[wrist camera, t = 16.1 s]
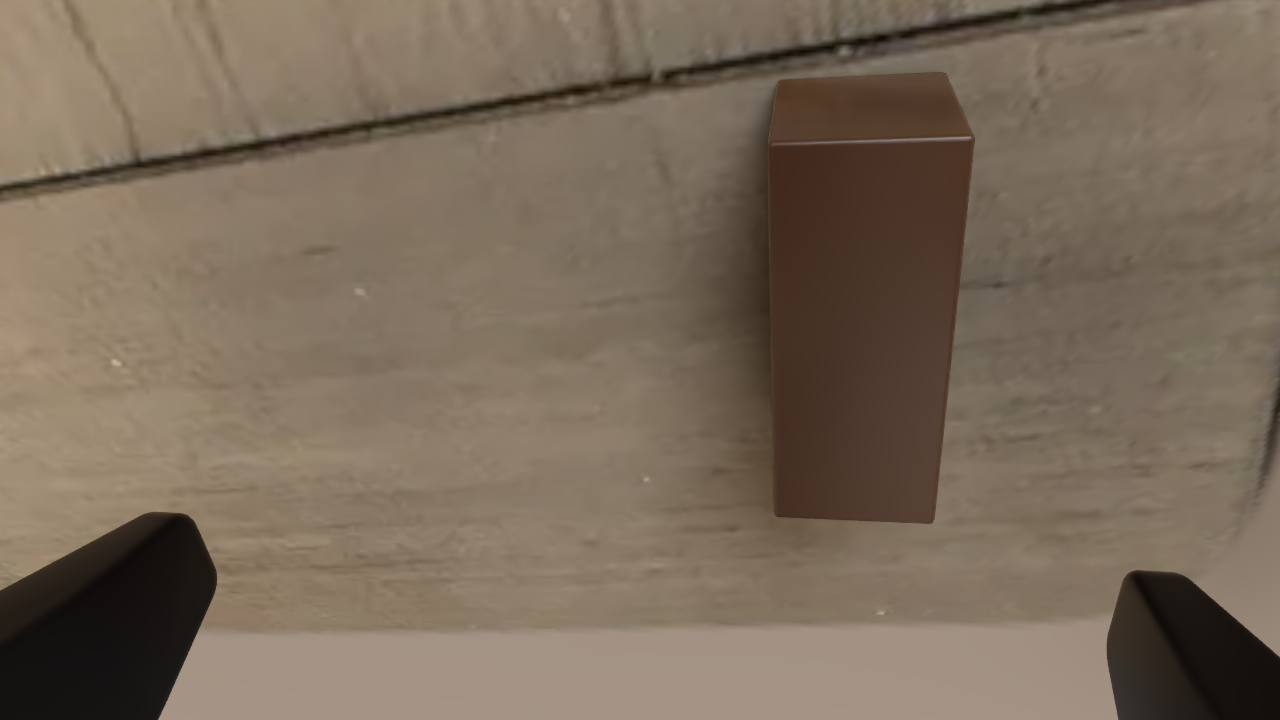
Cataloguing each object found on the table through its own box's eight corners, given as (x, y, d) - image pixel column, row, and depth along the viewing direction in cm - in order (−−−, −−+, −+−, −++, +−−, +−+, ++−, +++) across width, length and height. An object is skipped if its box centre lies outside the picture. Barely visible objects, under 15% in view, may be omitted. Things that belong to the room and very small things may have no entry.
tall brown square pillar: (946, 71, 11) (976, 135, 9) (917, 414, 13) (934, 525, 11) (777, 78, 11) (766, 142, 9) (780, 411, 14) (773, 518, 12)
